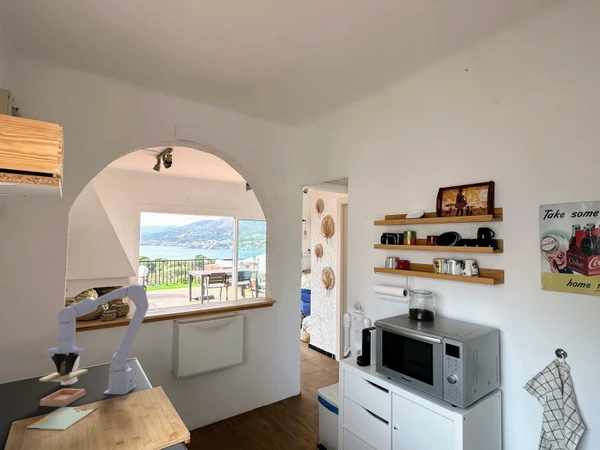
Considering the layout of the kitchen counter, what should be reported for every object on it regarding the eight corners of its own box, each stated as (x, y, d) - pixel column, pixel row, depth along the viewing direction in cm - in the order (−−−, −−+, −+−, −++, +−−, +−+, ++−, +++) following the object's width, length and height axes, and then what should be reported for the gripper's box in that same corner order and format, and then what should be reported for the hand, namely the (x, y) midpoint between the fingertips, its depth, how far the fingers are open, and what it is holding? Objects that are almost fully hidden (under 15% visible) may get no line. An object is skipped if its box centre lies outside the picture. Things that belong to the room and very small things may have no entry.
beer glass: (71, 386, 138) (72, 350, 139) (55, 386, 138) (57, 350, 139) (82, 379, 145) (83, 346, 146) (67, 379, 145) (69, 346, 146)
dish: (85, 394, 129) (85, 389, 129) (64, 406, 119) (64, 400, 119) (62, 394, 130) (62, 388, 130) (40, 405, 120) (40, 399, 120)
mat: (96, 409, 116) (96, 408, 116) (64, 430, 102) (64, 428, 102) (61, 407, 118) (62, 406, 118) (25, 428, 104) (25, 427, 104)
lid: (88, 371, 130) (88, 358, 130) (65, 382, 119) (66, 367, 119) (63, 370, 131) (64, 357, 131) (39, 381, 120) (40, 366, 121)
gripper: (40, 339, 123) (38, 376, 122) (75, 340, 122) (73, 377, 120) (56, 335, 130) (54, 369, 129) (89, 335, 129) (87, 370, 127)
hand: (64, 372), depth 125 cm, fingers closed on lid, 3 cm apart
